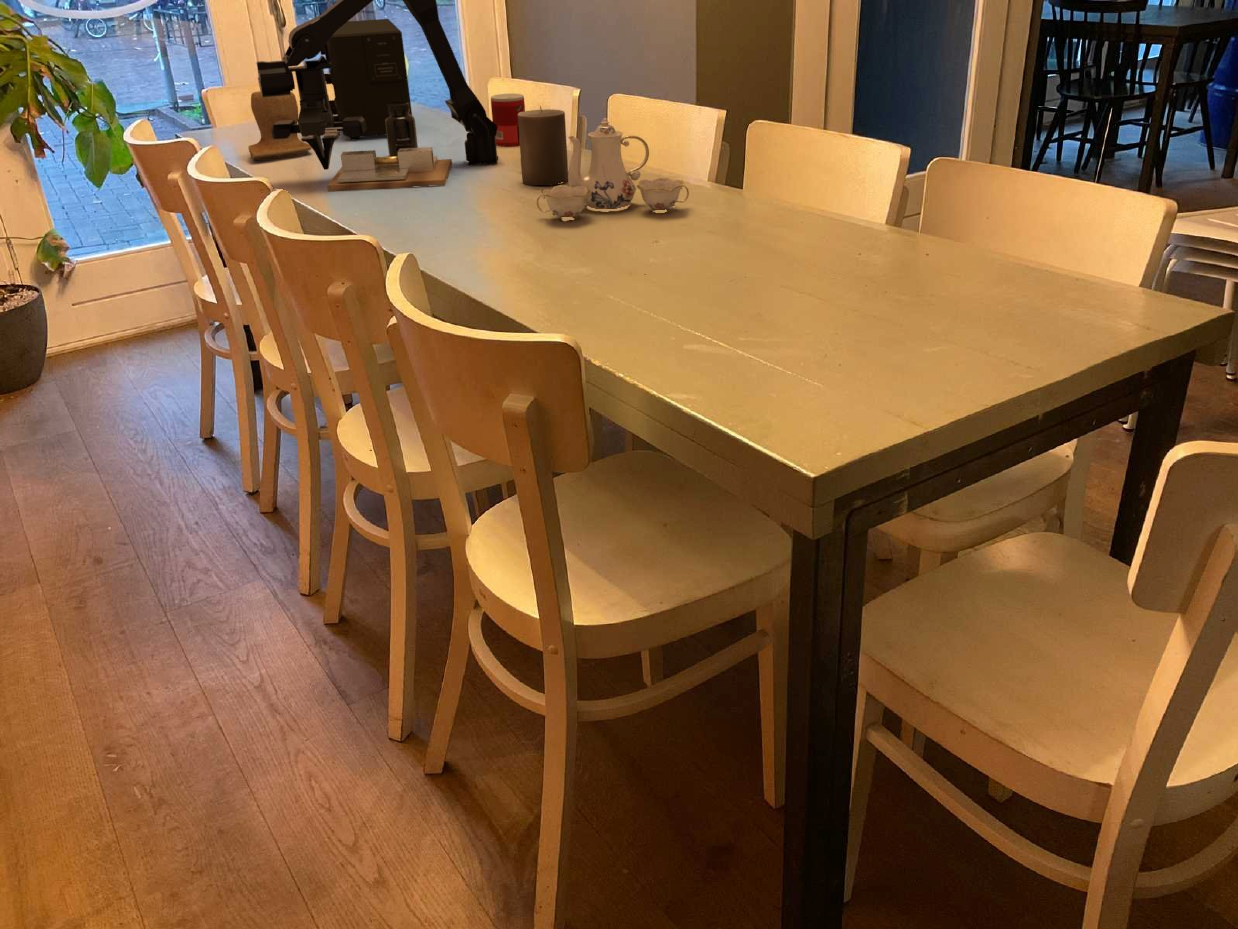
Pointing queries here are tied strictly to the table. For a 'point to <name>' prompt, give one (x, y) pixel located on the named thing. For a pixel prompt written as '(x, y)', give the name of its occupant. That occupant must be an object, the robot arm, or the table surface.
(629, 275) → the table surface
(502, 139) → the canned food
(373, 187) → the board
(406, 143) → the supplement bottle
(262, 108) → the brown chair-shaped stand
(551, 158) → the pillar candle
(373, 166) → the loose leaf
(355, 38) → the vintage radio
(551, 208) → the chinaware
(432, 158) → the fixed leaf
